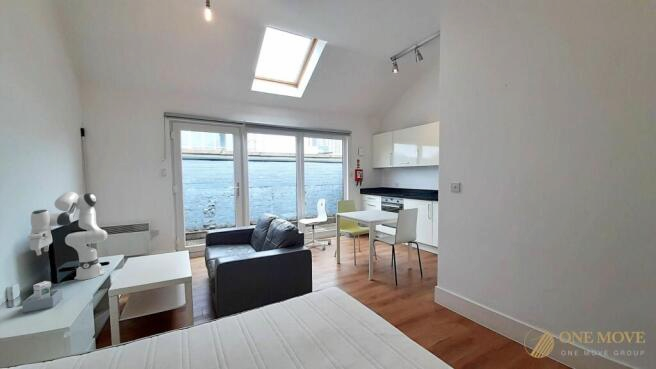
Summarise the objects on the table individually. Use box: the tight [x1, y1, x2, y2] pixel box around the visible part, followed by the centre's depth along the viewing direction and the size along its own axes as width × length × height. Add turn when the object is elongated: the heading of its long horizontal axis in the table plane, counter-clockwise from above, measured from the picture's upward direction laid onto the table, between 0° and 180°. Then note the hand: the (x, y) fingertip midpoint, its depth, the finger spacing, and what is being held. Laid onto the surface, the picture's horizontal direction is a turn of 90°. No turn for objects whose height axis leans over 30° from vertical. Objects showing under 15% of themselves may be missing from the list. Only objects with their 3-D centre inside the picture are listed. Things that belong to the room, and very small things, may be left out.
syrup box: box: [32, 280, 53, 299], centre depth 165 cm, size 6×6×14 cm
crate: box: [21, 288, 64, 314], centre depth 165 cm, size 14×14×7 cm
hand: (42, 253), depth 174 cm, fingers open, 8 cm apart
